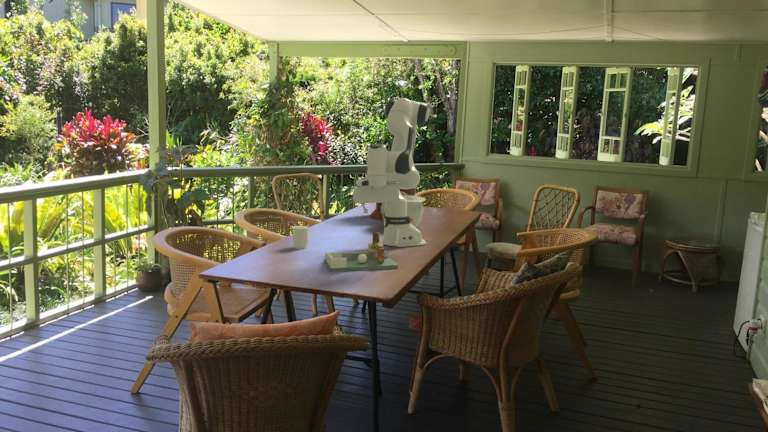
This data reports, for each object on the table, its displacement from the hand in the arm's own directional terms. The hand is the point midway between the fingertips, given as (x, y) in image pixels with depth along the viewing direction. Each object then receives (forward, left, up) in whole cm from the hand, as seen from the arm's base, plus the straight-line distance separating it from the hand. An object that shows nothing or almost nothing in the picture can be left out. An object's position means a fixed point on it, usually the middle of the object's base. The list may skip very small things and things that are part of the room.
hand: (376, 212), depth 275 cm
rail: (+8, 0, -20) cm, 22 cm away
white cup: (+29, -36, -22) cm, 51 cm away
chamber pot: (-35, -80, -22) cm, 90 cm away
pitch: (+8, +6, -22) cm, 24 cm away
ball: (+8, +8, -18) cm, 22 cm away
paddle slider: (0, +5, -20) cm, 20 cm away
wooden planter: (-39, -116, -22) cm, 124 cm away
